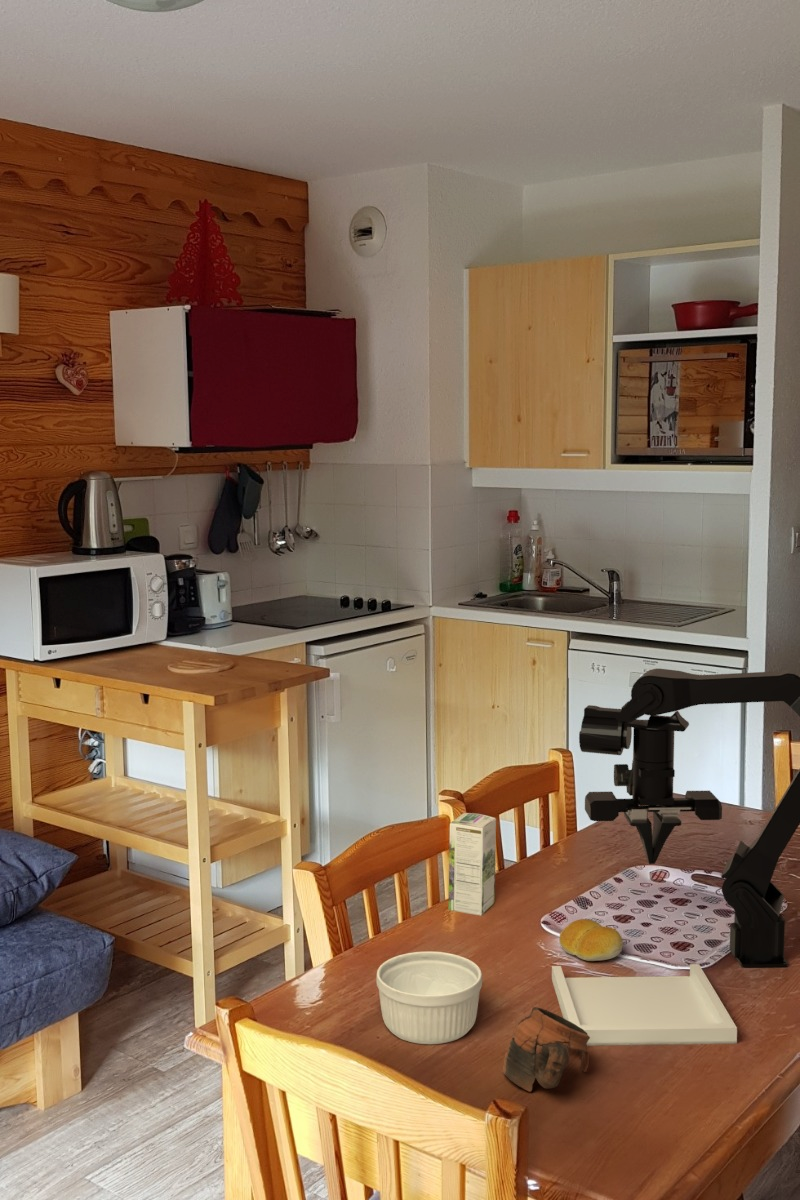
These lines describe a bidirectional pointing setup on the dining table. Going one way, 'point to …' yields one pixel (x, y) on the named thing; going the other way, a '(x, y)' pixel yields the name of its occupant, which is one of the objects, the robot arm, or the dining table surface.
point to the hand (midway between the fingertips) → (651, 863)
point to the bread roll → (590, 940)
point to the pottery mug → (543, 1049)
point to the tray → (645, 1009)
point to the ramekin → (429, 996)
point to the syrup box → (472, 863)
